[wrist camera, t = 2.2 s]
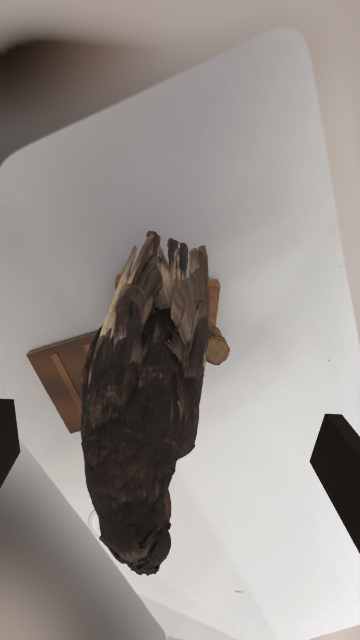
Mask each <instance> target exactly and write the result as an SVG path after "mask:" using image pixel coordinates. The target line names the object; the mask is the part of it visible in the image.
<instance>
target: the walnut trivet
mask: <svg viewBox="0 0 360 640" xmlns="http://www.w3.org/2000/svg"><path fill="white" fill-rule="evenodd" d="M97 332H98V331H96V332H92V333H89V334H86V335H82V336H79V337H75V338H72V339H69V340H65V341H62V342H59V343H55V344H52V345H48V346H45V347H42V348H38V349H35V350H32V351H29V353H28V354H27V357H28V359H29V361H30V362H31V364H32V366H33V368H34V370H35V371H36V373H37V375H38V377H39V378H40V380H41V382H42V384H43V386H44V387H45V389H46V391H47V393H48V395H49V396H50V398H51V400H52V402H53V403H54V405H55V407H56V409H57V411H58V412H59V414H60V416H61V418H62V419H63V421H64V423H65V425H66V427H67V428H68V430H69V432H70V433H74V432H78V431H81V415H82V411H81V400H82V396H81V395H82V382H81V379H82V372H83V368H84V365H85V360H86V356H87V352H88V350H89V348H90V346H91V343H92V341H93V339H94V337H95V336H96V334H97Z"/></svg>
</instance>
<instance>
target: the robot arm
mask: <svg viewBox="0 0 360 640" xmlns="http://www.w3.org/2000/svg"><path fill="white" fill-rule="evenodd" d="M19 453H20V446H19V438H18V430H17V422H16V413H15V405H14V399H0V488H1V486H2V484H3V482H4V480H5V478H6V476H7V475H8V473H9V471H10V469H11V468H12V466H13V464H14V462H15V460H16V459H17V457H18V455H19ZM310 463H311V465H312V467H313V469H314V471H315V472H316V474H317V476H318V478H319V480H320V482H321V483H322V485H323V487H324V489H325V491H326V493H327V494H328V496H329V498H330V500H331V502H332V504H333V505H334V507H335V509H336V511H337V513H338V515H339V516H340V518H341V520H342V522H343V524H344V526H345V527H346V529H347V531H348V533H349V535H350V537H351V538H352V540H353V542H354V544H355V546H356V548H357V549H358V551H359V553H360V436H359V435H358V434H357V433H356V432H355V430H354V429H353V428H352V427H351V425H350V424H349V423H348V422H347V420H346V419H345V418H344V417H343V415H341V414H325V416H324V419H323V422H322V425H321V428H320V431H319V434H318V437H317V440H316V443H315V446H314V449H313V452H312V455H311V459H310Z"/></svg>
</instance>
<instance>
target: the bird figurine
mask: <svg viewBox="0 0 360 640" xmlns="http://www.w3.org/2000/svg"><path fill="white" fill-rule="evenodd" d="M146 237H147V239H146V241H145V243H144V245H143V247H142V249H141V251H140V253H139V256H138V258H137V261H136V263H135V266H134V269H133V271H132V273H131V274H130V268H131V266H132V263H133V260H134V258H135V254H136V251H137V247H136V246H134V248H133V250H132V252H131V255H130V257H129V259H128V261H127V263H126V266H125V268H124V270H123V273H122V275H118V276H117V278H116V280H115V282H116V292H115V294H114V297H113V299H112V302H111V304H110V307H109V310H108V313H107V315H106V318H105V321H104V324H103V325H102V326H101V327H100V329H99V330H98V332H97V334H96V336H95V337H94V339H93V341H92V343H91V346H90V348H89V350H88V352H87V356H86V360H85V365H84V368H83V372H82V379H81V382H82V395H81V396H82V400H81V411H82V415H81V437H82V443H81V445H82V449H83V453H84V460H85V475H86V484H87V488H88V491H89V494H90V497H91V500H92V504H93V506H94V508H95V511H96V513H97V515H98V517H99V524H100V530H101V536H100V538H99V539H100V540H101V541H102V542H103V543H104V544H105V545H106V546H107V547H108V548H109V550H110V552H111V553H112V554H113V556H114V557H115V559H117V560H118V561H119V562H120V563H122V564H124V563H125V564H127V565H128V567H129V568H131V570H132V571H135V572H136V573H137V574H139V575H142V574H144V573H145V574H147V576H148V575H150V574H156V572H158V570H159V566H160V564H161V563H162V562H163V561H164V560H165V559H166V558H167V556H168V553H169V551H170V548H171V537H170V534H169V532H168V530H169V529H170V526H171V523H170V522H169V521H170V520H169V519H170V517H171V500H170V494H169V490H168V487H169V484H170V481H171V479H172V475H173V474H174V472H175V466H176V461H177V460H178V459H180V458H182V457H184V456H186V455H187V454H189V453H190V452H191V451H192V449H193V448H194V447H195V444H194V443H195V439H196V435H197V427H198V421H199V403H200V398H201V390H202V384H203V377H204V369H205V364H206V361H207V362H209V363H211V364H213V365H220V364H221V363H222V362H223V361H225V360H226V359H227V357H228V355H229V352H230V348H229V347H228V344H227V343H226V340H225V338H224V337H222V334H221V333H220V330H219V329H218V328H217V327H216V317H217V309H218V300H219V292H220V283H219V282H218V280H212V279H209V277H208V261H207V259H208V256H207V252H206V248H205V246H204V245H203V246H200V247H199V249H198V250H197V248H193V249H192V250H191V251H190V252H189V256H190V258H189V261H190V268H189V275H190V278H186V271H187V263H188V248H187V245H186V244H185V243H180V248H179V249H178V244H179V242H178V241H176V240H174V239H172V238H169V239H168V243H167V246H168V257H169V265H168V263H167V261H166V260H165V257H164V255H163V249H161V247H160V236H158V234H157V233H156V232H154V231H148V232H147V235H146ZM178 250H179V251H178Z"/></svg>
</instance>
